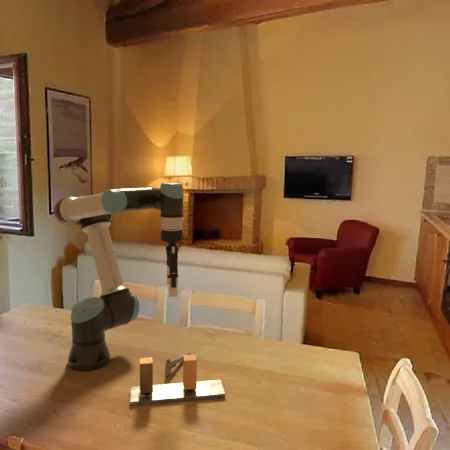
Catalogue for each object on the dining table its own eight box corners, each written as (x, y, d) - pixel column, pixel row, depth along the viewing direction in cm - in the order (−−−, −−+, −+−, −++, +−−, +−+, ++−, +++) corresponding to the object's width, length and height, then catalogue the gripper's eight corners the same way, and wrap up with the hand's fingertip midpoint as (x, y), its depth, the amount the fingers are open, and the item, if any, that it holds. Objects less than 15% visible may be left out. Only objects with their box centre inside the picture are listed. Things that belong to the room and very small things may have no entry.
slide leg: (183, 385, 141) (183, 355, 139) (195, 384, 141) (195, 354, 140) (184, 391, 137) (184, 360, 135) (196, 390, 137) (196, 359, 136)
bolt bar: (131, 391, 140) (130, 355, 138) (220, 383, 146) (220, 349, 144) (130, 406, 131) (129, 368, 129) (225, 398, 137) (225, 361, 135)
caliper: (167, 378, 149) (167, 362, 148) (164, 378, 149) (164, 361, 148) (191, 354, 168) (191, 339, 167) (188, 353, 168) (188, 338, 167)
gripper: (186, 235, 131) (186, 301, 134) (179, 223, 155) (179, 279, 158) (162, 235, 129) (162, 302, 132) (159, 223, 153) (159, 280, 157)
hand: (171, 290), depth 145 cm, fingers open, 13 cm apart
